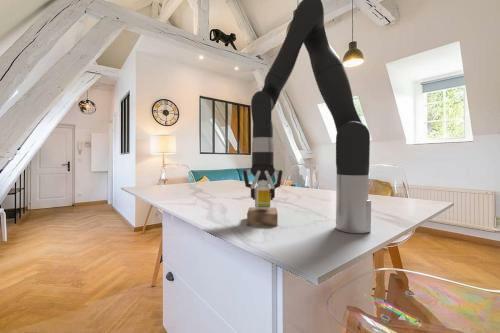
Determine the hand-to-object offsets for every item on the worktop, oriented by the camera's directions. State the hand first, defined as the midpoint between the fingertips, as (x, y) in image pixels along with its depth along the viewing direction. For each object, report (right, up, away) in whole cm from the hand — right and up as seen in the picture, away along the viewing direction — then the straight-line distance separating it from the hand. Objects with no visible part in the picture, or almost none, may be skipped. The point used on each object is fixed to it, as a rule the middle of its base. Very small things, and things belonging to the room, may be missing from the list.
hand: (262, 199), depth 82 cm
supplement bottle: (0, -3, 0) cm, 3 cm away
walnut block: (0, -8, 0) cm, 8 cm away
